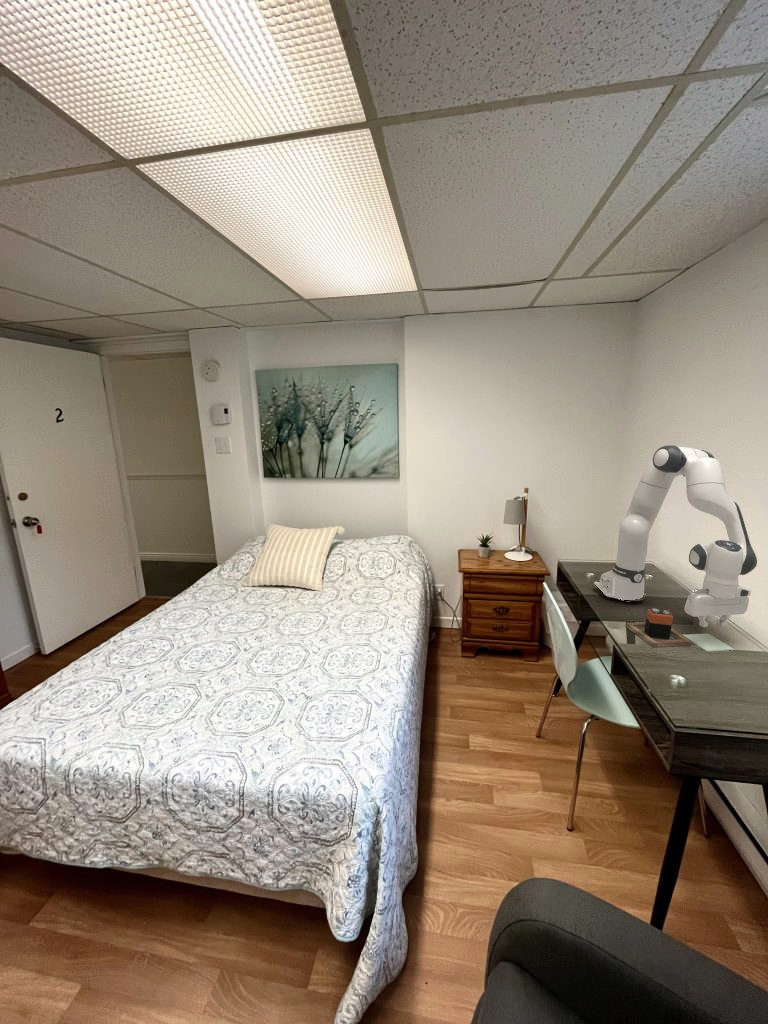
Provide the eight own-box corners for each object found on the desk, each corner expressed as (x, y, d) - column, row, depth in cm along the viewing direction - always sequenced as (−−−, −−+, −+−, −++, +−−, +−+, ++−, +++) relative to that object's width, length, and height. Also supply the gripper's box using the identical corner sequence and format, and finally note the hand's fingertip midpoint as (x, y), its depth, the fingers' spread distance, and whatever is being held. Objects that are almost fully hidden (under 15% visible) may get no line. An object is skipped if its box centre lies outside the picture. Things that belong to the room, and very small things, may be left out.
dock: (625, 626, 148) (626, 623, 148) (660, 625, 149) (660, 621, 149) (653, 647, 135) (654, 643, 134) (691, 645, 136) (692, 641, 136)
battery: (643, 631, 145) (647, 606, 143) (664, 633, 143) (669, 608, 141) (648, 637, 141) (652, 611, 139) (669, 639, 139) (674, 614, 137)
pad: (682, 636, 142) (682, 634, 142) (707, 634, 143) (708, 633, 143) (706, 651, 132) (707, 650, 132) (734, 650, 133) (734, 649, 133)
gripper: (699, 593, 129) (691, 631, 132) (755, 591, 131) (747, 628, 134) (683, 586, 135) (676, 622, 138) (737, 583, 137) (729, 619, 140)
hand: (711, 625), depth 136 cm, fingers open, 5 cm apart
